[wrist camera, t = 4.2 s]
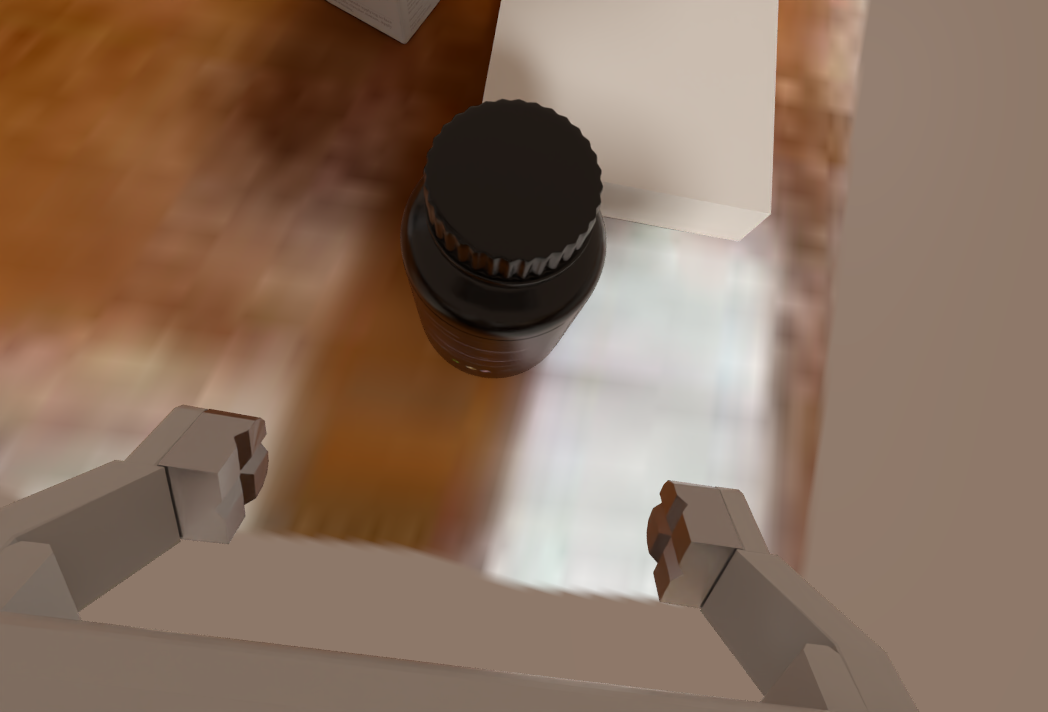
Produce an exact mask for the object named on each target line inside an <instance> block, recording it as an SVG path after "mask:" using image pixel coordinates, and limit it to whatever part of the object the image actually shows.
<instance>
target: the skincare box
mask: <svg viewBox="0 0 1048 712" xmlns="http://www.w3.org/2000/svg"><path fill="white" fill-rule="evenodd" d="M326 1H328V2H330V3H331V4H333V5H335V6H337V7H339V8H340V9H342V10H344V11H346V12H348V13H349V14H351V15H353V16H355V17H357V18H358V19H360V20H362V21H364V22H365V23H367V24H369V25H371V26H373V27H374V28H376V29H378V30H380V31H381V32H383V33H385V34H387V35H389V36H390V37H392V38H394V39H396V40H398V41H399V42H401V43H403V44H406V43H407V42H408V41H409V40H410V38H411V37H412V36H413V35H414V33H415V32H416V31H417V30H418V28H419V27H420V25H421V24H422V23H423V22H424V20H425V19H426V18H427V16H428V15H429V14H430V13H431V11H432V10H433V9H434V7H435V6H436V5H437V4H438V2H439V1H440V0H326Z"/></svg>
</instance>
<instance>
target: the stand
mask: <svg viewBox="0 0 1048 712" xmlns="http://www.w3.org/2000/svg"><path fill="white" fill-rule="evenodd" d="M777 26H778V0H501V5H500V10H499V15H498V21H497V26H496V31H495V37H494V42H493V48H492V53H491V58H490V64H489V69H488V75H487V80H486V85H485V91H484V96H483V101H482V103H484V102H485V101H492V102H495V101H497V100H500V99H507V100H510V101H512V100H516V99H521V100H523V101H525V102H536V103H538V104H540V105H541V106H542V107H547V108H552V109H553V110H554V111H555V112H556V113H557V114H559V115H562V116H565V117H567V118H568V120H569V121H570V123H571V124H573V125H575V126H577V127H578V128H579V129H580V130H581V133H582V135H583V136H584V137H585V138H587V139H588V140H589V141H590V144H591V149H592V150H593V151H594V152H595V153H596V154H597V163H598V165H599V167H600V168H601V170H602V174H601V178H600V179H601V182H602V185H603V191H602V193H601V195H600V197H601V207H600V211H601V214H602V216H606V217H611V218H616V219H622V220H627V221H632V222H638V223H643V224H648V225H653V226H659V227H664V228H669V229H675V230H680V231H685V232H691V233H696V234H701V235H707V236H712V237H717V238H722V239H728V240H733V241H738V242H739V241H740V240H741V239H742V238H743V237H744V236H746V235H747V234H748V233H749V232H750V231H752V230H753V229H754V228H755V227H756V226H757V225H759V224H760V223H761V222H762V221H763V220H764V219H766V218H767V217H768V216H769V215H770V214H771V195H772V167H773V138H774V110H775V82H776V54H777Z"/></svg>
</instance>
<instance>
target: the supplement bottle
mask: <svg viewBox="0 0 1048 712" xmlns="http://www.w3.org/2000/svg"><path fill="white" fill-rule="evenodd" d="M426 158H427V164H426V166H425V168H424V171H423V175H424V176H423V177H422V178H421V180H420V181H419V182H418V184H417V185H416V187H415V188H414V190H413V191H412V193H411V195H410V197H409V199H408V202H407V204H406V207H405V210H404V214H403V218H402V224H401V235H400V239H401V251H402V257H403V263H404V266H405V270H406V273H407V277H408V280H409V283H410V287H411V290H412V293H413V296H414V300H415V303H416V306H417V310H418V313H419V316H420V319H421V323H422V325H423V328H424V330H425V333H426V335H427V337H428V339H429V341H430V342H431V344H432V346H433V347H434V348H435V350H436V351H437V352H438V353H439V354H440V355H441V356H442V357H443V358H444V359H445V360H446V361H447V362H448V363H450V364H451V365H453V366H454V367H456V368H458V369H459V370H461V371H463V372H466V373H468V374H471V375H474V376H479V377H485V378H504V377H510V376H514V375H518V374H520V373H523V372H525V371H527V370H529V369H531V368H533V367H534V366H536V365H537V364H538V363H540V362H541V361H542V360H543V359H544V358H546V357H547V356H548V355H549V353H550V352H551V351H552V350H553V349H554V347H555V346H556V345H557V343H558V342H559V341H560V339H561V338H562V336H563V335H564V333H565V332H566V331H567V329H568V328H569V326H570V325H571V323H572V322H573V321H574V319H575V318H576V316H577V315H578V313H579V312H580V311H581V309H582V308H583V306H584V305H585V303H586V302H587V300H588V299H589V297H590V296H591V294H592V293H593V291H594V289H595V287H596V285H597V283H598V280H599V278H600V275H601V273H602V269H603V266H604V261H605V256H606V231H605V225H604V221H603V217H602V214H601V211H600V207H601V197H600V195H601V193H602V191H603V185H602V182H601V179H600V178H601V174H602V170H601V168H600V167H599V165H598V163H597V154H596V153H595V152H594V151H593V150H592V149H591V144H590V141H589V140H588V139H587V138H585V137H584V136H583V135H582V133H581V130H580V129H579V128H578V127H577V126H575V125H573V124H571V123H570V121H569V120H568V118H567V117H565V116H562V115H559V114H557V113H556V112H555V111H554V110H553V109H552V108H547V107H542V106H541V105H540V104H538V103H536V102H525V101H523V100H521V99H516V100H512V101H510V100H507V99H500V100H497V101H495V102H492V101H485V102H484V103H482V104H481V105H479V106H471V107H469V108H468V109H467V110H466V111H465V112H464V113H459V114H457V115H455V116H454V118H453V119H452V121H451V122H449V123H447V124H445V125H443V127H442V130H441V133H440V134H438V135H437V136H436V137H435V138H434V139H433V144H432V148H431V149H430V150H429V151H428V153H427V156H426Z"/></svg>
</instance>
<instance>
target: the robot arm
mask: <svg viewBox="0 0 1048 712" xmlns="http://www.w3.org/2000/svg"><path fill="white" fill-rule="evenodd" d="M265 436H266V427H265V421H264V420H263V419H261V418H258V417H253V416H247V415H241V414H236V413H230V412H224V411H219V410H213V409H204V408H198V407H193V406H187V405H181V406H178V407H176V408H174V409H173V410H172V411H171V412H170V413H169V414H168V415H167V417H166V418H165V419H164V420H163V421H162V422H161V423H160V424H159V425H158V426H157V427H156V428H155V429H154V430H153V431H152V432H151V433H150V434H149V435H148V437H147V438H146V439H145V440H144V441H143V442H142V443H141V444H140V445H139V446H138V447H137V448H136V449H135V450H134V451H133V452H132V453H131V454H130V455H129V456H128V458H127V459H126V460H125V461H119V460H114V461H112V462H110V463H107V464H105V465H102V466H100V467H98V468H95V469H93V470H90V471H88V472H86V473H83V474H81V475H78V476H76V477H74V478H71V479H69V480H66V481H64V482H62V483H59V484H57V485H54V486H52V487H50V488H47V489H45V490H42V491H40V492H38V493H35V494H33V495H30V496H28V497H26V498H23V499H21V500H18V501H16V502H14V503H11V504H9V505H7V506H4V507H2V508H0V712H919V710H918V709H917V707H916V705H915V703H914V702H913V700H912V698H911V696H910V695H909V693H908V691H907V689H906V687H905V685H904V684H903V682H902V680H901V678H900V677H899V675H898V673H897V671H896V669H895V667H894V666H893V664H892V662H891V660H890V658H889V657H888V655H887V653H886V652H885V651H884V650H883V649H882V648H881V647H880V646H879V645H877V644H876V643H875V642H874V641H873V640H872V639H871V638H870V637H868V636H867V635H866V634H865V633H864V632H863V631H862V630H861V629H860V628H858V627H857V626H856V625H855V624H854V623H853V622H852V621H851V620H849V619H848V618H847V617H846V616H845V615H844V614H843V613H842V612H840V611H839V610H838V609H837V608H836V607H835V606H834V605H833V604H832V603H830V602H829V601H828V600H827V599H826V598H825V597H824V596H822V595H821V594H820V593H819V592H818V591H817V590H816V589H815V588H814V587H812V586H811V585H810V584H809V583H808V582H807V581H806V580H805V579H803V578H802V577H801V576H800V575H799V574H798V573H797V572H796V571H795V570H793V569H792V568H791V567H790V566H789V565H788V564H787V563H786V562H784V561H783V560H782V559H781V558H780V557H779V556H778V555H773V554H770V552H769V550H768V548H767V546H766V544H765V541H764V539H763V537H762V535H761V532H760V530H759V528H758V526H757V524H756V521H755V519H754V517H753V515H752V513H751V510H750V508H749V506H748V504H747V501H746V499H745V497H744V495H743V493H742V492H740V491H739V490H737V489H730V488H722V487H712V486H705V485H699V484H692V483H685V482H678V481H671V480H668V481H667V482H666V483H665V484H664V485H663V487H662V489H661V492H660V496H661V500H662V503H661V504H659V505H658V506H656V507H654V508H653V510H652V512H651V515H650V517H649V520H648V527H647V545H648V550H649V554H650V555H651V556H652V557H653V558H654V560H655V561H656V562H657V563H658V564H657V566H656V568H655V570H654V572H653V574H654V578H655V583H656V587H657V592H658V596H659V601H660V602H663V603H669V604H675V605H681V606H687V607H694V608H700V609H701V610H700V611H701V612H702V614H703V615H704V616H705V618H706V619H707V620H708V622H709V623H710V624H711V626H712V627H713V628H714V630H715V631H716V632H717V634H718V635H719V636H720V637H721V639H722V640H723V642H724V643H725V644H726V646H727V647H728V648H729V650H730V651H731V652H732V654H733V655H734V656H735V658H736V659H737V660H738V662H739V663H740V664H741V666H742V667H743V668H744V670H745V671H746V672H747V674H748V675H749V677H750V678H751V679H752V680H753V682H754V683H755V685H756V686H757V687H758V689H759V690H760V691H761V692H762V694H763V695H764V697H763V699H762V700H761V701H760V702H754V701H746V700H737V699H729V698H721V697H713V696H704V695H696V694H687V693H679V692H671V691H663V690H654V689H646V688H637V687H629V686H620V685H612V684H604V683H595V682H587V681H579V680H570V679H561V678H554V677H545V676H537V675H528V674H519V673H511V672H503V671H495V670H486V669H478V668H470V667H462V666H453V665H445V664H436V663H429V662H420V661H412V660H404V659H396V658H387V657H378V656H371V655H362V654H354V653H346V652H338V651H330V650H321V649H313V648H305V647H296V646H288V645H280V644H271V643H264V642H255V641H246V640H239V639H230V638H221V637H213V636H205V635H197V634H188V633H180V632H172V631H163V630H156V629H147V628H139V627H131V626H122V625H113V624H106V623H97V622H89V621H82V620H81V617H80V615H79V613H78V612H79V611H81V610H82V609H84V608H85V607H87V606H88V605H89V604H91V603H92V602H94V601H95V600H97V599H98V598H100V597H101V596H102V595H104V594H105V593H107V592H108V591H110V590H111V589H113V588H114V587H116V586H117V585H118V584H120V583H121V582H123V581H124V580H126V579H127V578H129V577H130V576H132V575H133V574H134V573H136V572H137V571H139V570H140V569H142V568H143V567H145V566H146V565H147V564H149V563H150V562H152V561H153V560H155V559H156V558H157V557H159V556H161V555H162V554H163V553H165V552H166V551H168V550H169V549H171V548H172V547H174V546H175V545H177V544H178V543H179V542H180V539H184V540H193V541H203V542H213V543H222V544H229V543H230V541H231V539H232V538H233V536H234V534H235V533H236V531H237V529H238V528H239V526H240V524H241V523H242V521H243V519H244V518H245V508H244V505H245V504H247V503H249V502H250V501H252V500H254V499H256V497H257V496H258V494H259V492H260V490H261V488H262V487H263V484H264V481H265V478H266V475H267V470H268V462H269V460H268V451H267V450H266V449H265V447H264V446H263V445H262V444H261V442H262V440H263V439H264V437H265Z"/></svg>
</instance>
